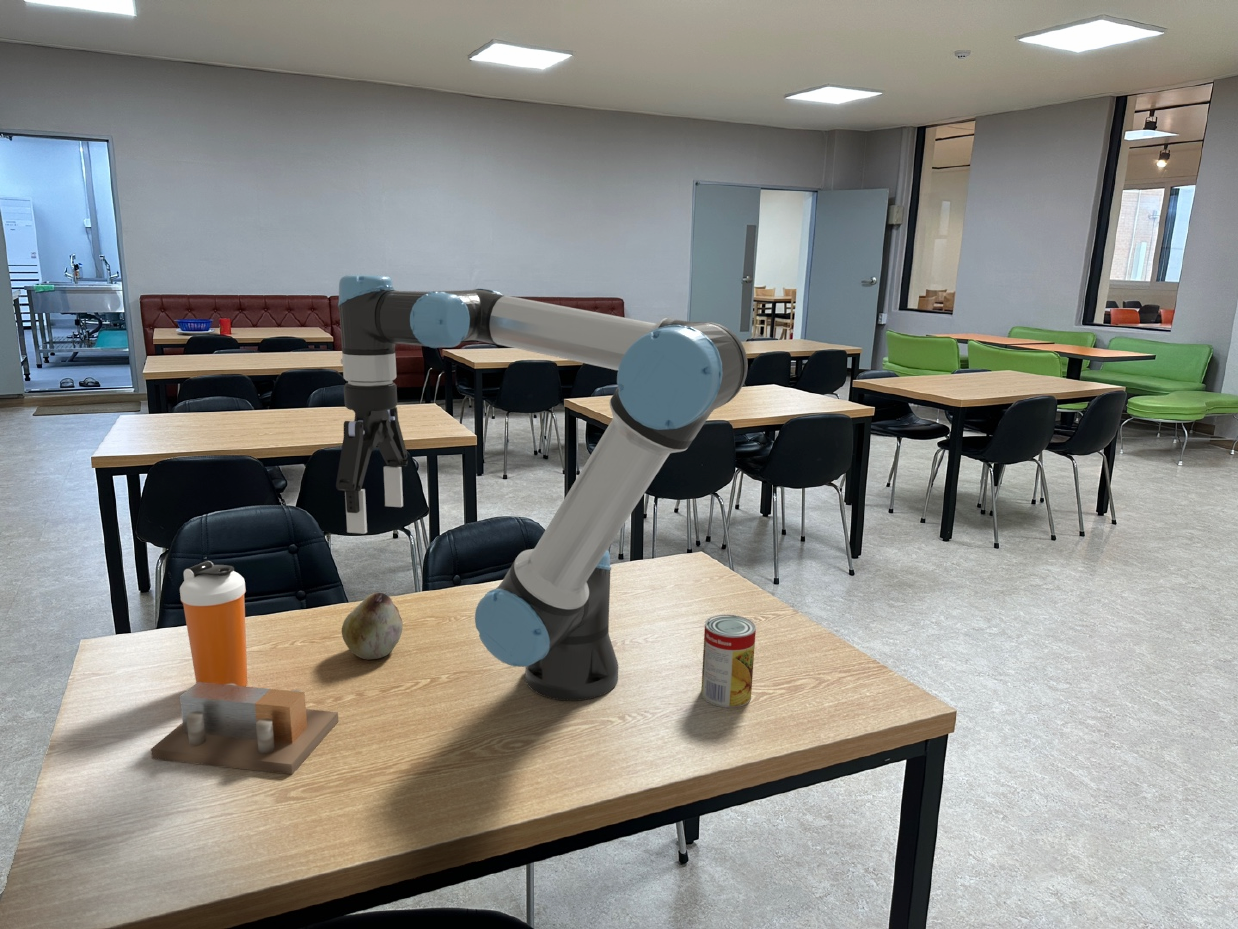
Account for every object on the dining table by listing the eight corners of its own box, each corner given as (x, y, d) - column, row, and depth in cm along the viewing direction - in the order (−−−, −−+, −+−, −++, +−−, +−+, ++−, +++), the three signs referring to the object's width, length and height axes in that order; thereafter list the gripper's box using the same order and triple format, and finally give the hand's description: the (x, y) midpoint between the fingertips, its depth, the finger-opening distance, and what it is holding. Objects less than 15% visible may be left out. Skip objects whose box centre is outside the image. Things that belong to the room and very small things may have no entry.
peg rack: (338, 721, 121) (336, 687, 119) (292, 774, 108) (289, 737, 107) (211, 708, 123) (207, 675, 122) (151, 759, 111) (147, 722, 109)
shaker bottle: (229, 705, 124) (217, 581, 119) (177, 698, 126) (163, 575, 121) (265, 677, 133) (255, 559, 128) (216, 670, 134) (204, 554, 130)
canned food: (757, 690, 133) (762, 621, 130) (740, 713, 126) (745, 640, 123) (712, 678, 136) (716, 610, 133) (693, 699, 129) (696, 628, 127)
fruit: (376, 672, 135) (373, 604, 132) (330, 661, 139) (326, 594, 136) (414, 646, 144) (411, 582, 142) (369, 636, 148) (366, 573, 145)
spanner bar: (183, 732, 115) (179, 696, 113) (201, 716, 118) (198, 681, 117) (292, 743, 112) (289, 707, 111) (307, 727, 116) (304, 692, 115)
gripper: (380, 370, 135) (386, 495, 140) (303, 393, 111) (314, 543, 116) (424, 372, 134) (428, 497, 139) (357, 395, 110) (364, 546, 115)
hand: (376, 518), depth 128 cm, fingers open, 13 cm apart
